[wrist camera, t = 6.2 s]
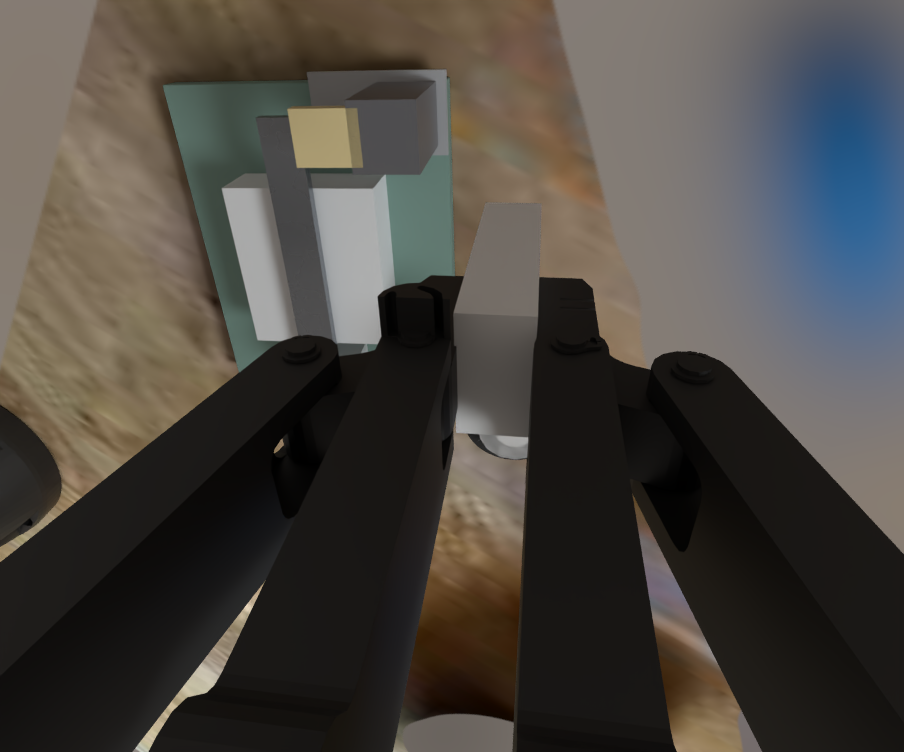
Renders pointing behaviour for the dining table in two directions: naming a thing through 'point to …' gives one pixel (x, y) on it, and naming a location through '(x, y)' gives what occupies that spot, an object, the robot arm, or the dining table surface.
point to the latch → (370, 130)
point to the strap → (297, 228)
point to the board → (240, 149)
